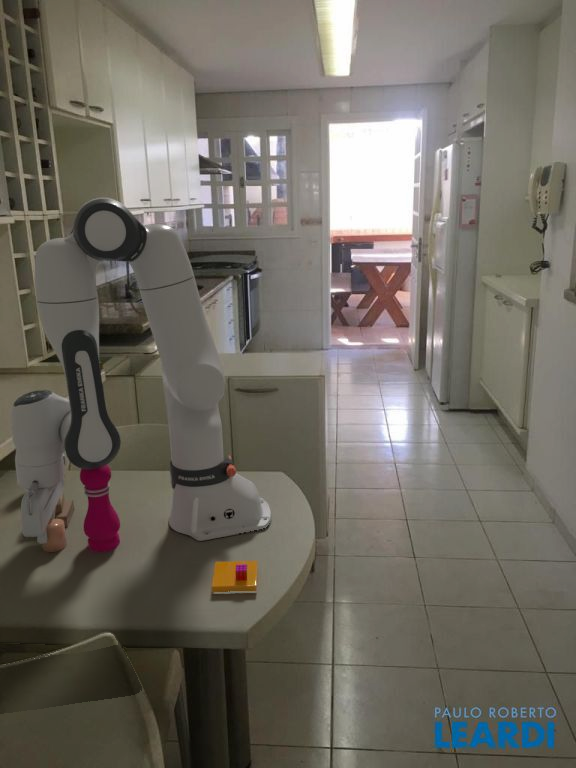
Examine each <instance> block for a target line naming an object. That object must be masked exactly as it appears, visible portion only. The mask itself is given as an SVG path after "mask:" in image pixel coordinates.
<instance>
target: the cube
mask: <svg viewBox="0 0 576 768" xmlns="http://www.w3.org/2000/svg"><path fill="white" fill-rule="evenodd" d="M64 492H65V491H63V493H62V495H61V497H60V499H59V501H58V503H57V505H56V509H55V513H60V512H62V510H63V507H64V503H65V500H66V499H65V494H64Z"/></svg>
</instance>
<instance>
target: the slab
mask: <svg viewBox="0 0 576 768" xmlns="http://www.w3.org/2000/svg"><path fill="white" fill-rule="evenodd" d="M64 500H65V503H64V507H63V510H62V512H60V513H55V517H54V518H55V519H61V520H63V521H64V526H65V528H68V527H69V525H70V522H71V520H72V517H73V515H74V513H75V502H74V499H64Z"/></svg>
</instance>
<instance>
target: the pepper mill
mask: <svg viewBox="0 0 576 768" xmlns="http://www.w3.org/2000/svg"><path fill="white" fill-rule="evenodd" d="M111 479H112V471H111V468H110V466H109V464H107V465H105V466H103V467H101V468H98V469H93V470H87V469H81V468H80V472H79V480H80V482H81V483H82V485H83V486H84V487H83V490H84V494H85V496H86V497H87V503H88V505H87V510H86V514H85V516H84V517H85V518H84V521H83V533H84V534H85V535H86V537H87V538H88V539H87V545H88V549H89V550H90V551H91V552H94V553H105V552H108V551H109V552H111V551H112V550H115V549H116V548H117V547H119V545H120V543H121V541H120V540H121V539H120V534H119V533H118V532H119V531H120V529H121V520H120V517H119V515H118V513H117V511H116V510H115V508H114V506H113V505H112V503H111V499H110V492H111V483H110V480H111Z"/></svg>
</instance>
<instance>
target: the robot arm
mask: <svg viewBox="0 0 576 768" xmlns="http://www.w3.org/2000/svg"><path fill="white" fill-rule="evenodd" d="M34 259H35V260H34V290H35V299H36V306H37V312H38V315H39V320H40V323H41V326H42V329H43V331H44V334H45V337H46V339H47V340H48V343H49V344H50V346H51V348H52V349H53V351H54V352H55V355H56V356H57V358H58V360H59V362H60V365H61V366H62V371H63V373H64V377H65V378H64V379H65V381H66V382H65V383H66V391H67V396H68V398H67V397H64V396H61V395H58V394H56V393H55V392H53V391H52V390H48V389H43V390H41V389H40V390H38V389H37V390H33V391H30V392H27V393H25V394H23V395H21V396H19V397H18V398H17V399H16V400H15V402H14V403H13V404H12V407H11V417H10V421H11V422H10V423H11V425H10V426H11V434H12V442H13V445H14V447H15V457H14V463H15V465H14V466H15V472H16V473H15V474H16V481H17V482H16V483H17V485H18V486H19V487H22V488H24V490H25V491H26V492H25V493H24V494H23V497H22V499H21V504H20V518H21V519H20V520H21V521H20V522H21V532H22V535H23V536H24V537H25V538H31V537H32V538H35V537H36V539H37V543H38V544H43V543H46V542H47V540H48V538H49V537H48V532H47V530H46V527H47V525H48V523H49V520H50V519H55V518H54V517H55V509H56V505H57V503H58V501H59V499H60V497H61V495H62V493H63V492H64V485H65V484H64V482H65V476H66V475H65V466H66V462H67V460H68V461H70V463H71V464H72V465H73V466H75V467H77V468H79V469H80V470H81V469H87V470H93V469H98V468H101V467H103V466H105V465H109V464H110V463H111V462H112V461H113V460H114V459H115V458H116V456H117V455H118V454H119V452H120V448H121V443H122V442H121V441H122V440H121V436H120V432H119V431H118V429H117V428H116V426H115V425H114V423H113V422H112V420H111V418H110V416H109V414H108V410H107V406H106V400H105V399H106V398H105V393H104V386H103V385H104V384H103V381H102V379H103V378H102V373H101V365H100V364H101V363H100V308H99V307H100V306H99V305H100V304H99V295H98V294H99V293H98V290H97V289H98V287H97V270H98V267H99V265H100V264H101V263H102V262H103V261H105V262H106V261H107V262H125V263H128V264H129V265H130V267H131V268H132V271H133V273H134V276H135V280H136V284H137V287H138V291H139V293H140V296H141V301H142V304H143V308H144V310H145V311H144V312H145V314H146V318H147V321H148V324H149V327H150V331H151V334H152V337H153V340H154V342H155V345H156V349H157V353H158V355H159V359H160V361H161V375H162V384H163V385H162V386H163V394H164V400H165V409H166V417H167V423H168V430H169V432H168V433H169V443H170V444H169V445H170V455H171V460H170V462H169V477H170V484H171V488H172V497H171V498H172V500H171V507H170V508H171V510H170V515H169V518H168V524H169V526H170V527H171V529H172V530H174V531H175V532H177V533H180V534H182V535H187V536H190V537H191V538H193V539H194V540H196V541H201V542H202V541H208V540H213V539H218V538H223V537H229V536H234V535H235V536H236V535H240V534H239V533H241V534H244V532H246V533H251V532H255V531H254V530H257V531H260V530H259V529H262V530H264V529H263V528H265V529H267V528H268V527H269V526H270V524H271V522H270V521H272V511H271V507H270V505H269V503H268V502H267V501H266V500H265V499H264V498H262V497H260V493H259V491H258V489H257V487H256V486H255V485H256V484H254V483H253V482H252V481H251V480H249V479H247V478H245V477H244V476H242V475H240V474H239V473H237V468H236V466H235V465H234V461H233V460H232V456H231V455H228V456H226V455H224V446H223V445H224V444H223V428H222V427H223V424H222V420H221V414H220V410H219V402H220V401H221V400H222V398H223V396H224V394H225V390H226V379H225V378H226V377H225V374H224V370H223V366H222V363H221V360H220V356H219V353H218V351H217V347H216V344H215V340H214V338H213V335H212V333H211V330H210V326H209V324H208V321H207V319H206V314H205V311H204V307H203V303H202V301H201V296H200V292H199V289H198V286H197V282H196V278H195V274H194V271H193V267H192V264H191V261H190V258H189V256H188V253H187V250H186V248H185V245H184V243H183V241H182V239H181V237H180V234H179V233H178V231H177V230H176V229H175V228H174V227H172V226H170V225H167V224H162V223H155V224H149V225H146V224H145V225H143V223H141V221H139V220H138V218H137V217H136V216H135V215H134V214H133V213H132V212H131V211H130V209H128V208H127V207H126V205H124V204H123V203H121V201H118V200H116V199H114V198H111V197H97V198H93V199H90V200H89V201H86V202H85V203H84V204H82V206H81V207H80V208H79V209H78V211H77V213H76V216H75V219H74V223H73V228H72V229H71V232H70V235H67V236H65V237H56V238H52V239H49V240H47V241H45V242H43V243H42V244H40V245H39V246H38V248H37V249H36V252H35V258H34ZM64 453H65V454H66V455H65V454H64ZM66 457H67V460H66ZM269 523H270V524H269ZM268 525H269V526H268ZM267 526H268V527H267ZM266 527H267V528H266ZM250 531H251V532H250Z"/></svg>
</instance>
